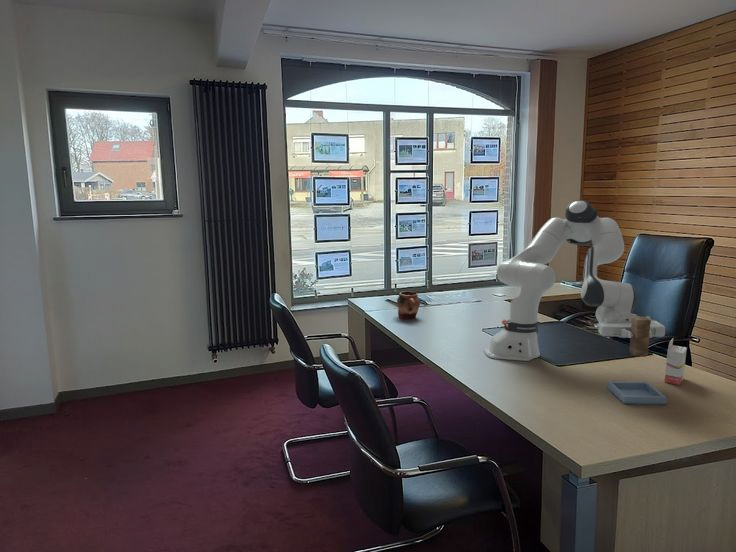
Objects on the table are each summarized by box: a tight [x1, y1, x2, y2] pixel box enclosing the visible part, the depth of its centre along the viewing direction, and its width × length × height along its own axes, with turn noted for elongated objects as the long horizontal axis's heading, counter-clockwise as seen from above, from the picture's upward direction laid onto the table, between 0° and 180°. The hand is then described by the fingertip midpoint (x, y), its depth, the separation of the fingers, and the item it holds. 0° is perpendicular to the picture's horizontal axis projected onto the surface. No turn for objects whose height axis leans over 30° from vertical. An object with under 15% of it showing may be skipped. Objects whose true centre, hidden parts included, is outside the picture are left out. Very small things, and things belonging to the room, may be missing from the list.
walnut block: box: [628, 317, 651, 357], centre depth 161 cm, size 4×4×12 cm
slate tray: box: [606, 381, 668, 406], centre depth 164 cm, size 13×13×2 cm
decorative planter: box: [396, 290, 421, 320], centre depth 269 cm, size 20×12×14 cm, turn 18°
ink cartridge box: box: [664, 337, 688, 386], centre depth 176 cm, size 9×5×15 cm, turn 141°
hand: (641, 335), depth 160 cm, fingers closed on walnut block, 4 cm apart
